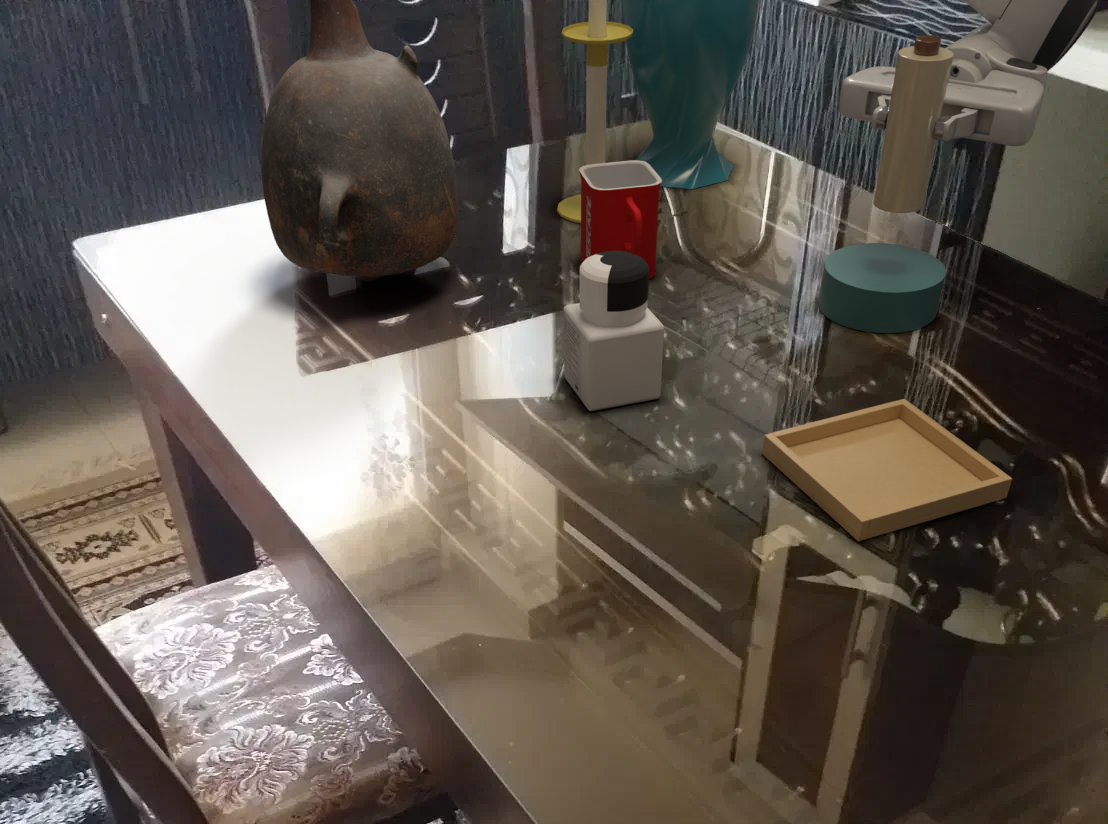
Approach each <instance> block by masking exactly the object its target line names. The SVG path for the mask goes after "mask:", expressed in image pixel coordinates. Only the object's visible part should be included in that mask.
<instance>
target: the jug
mask: <svg viewBox="0 0 1108 824" xmlns="http://www.w3.org/2000/svg"><path fill="white" fill-rule="evenodd" d="M309 5H310V7H309V8H310V35H309V46H308V50H307V53H306V55H305V56H302V57H301V58H299V59H298V60H296V61H295V62H294V63H292V64H291V65H290V66H289V68H287V70H286V71H285V73H283V75H282V76H281V78H280V79H279V81H278V82H277V84H276V86H275V87H274V90H273V91H272V94H271V97H270V100H269V103H268V107H267V112H266V116H265V120H264V127H263V134H262V143H261V162H260V163H261V164H260V165H261V167H260V169H261V170H260V171H261V183H262V191H263V192H262V193H263V199H264V205H265V208H266V213H267V216H268V221H269V225H270V229H271V232H272V233H271V234H272V235H273V236H272V237H273V239H274V241H275V244H276V246H277V247H278V249H279V251H280V252H281V253H282V255H283V256H284V257H285V258H286V259H287V261H289V262H290V263H291V264H293V265H296V266H297V267H299V268H302V269H304V270H305V269H306V270H309V271H312V272H315V273H321V274H327V275H335V276H347V277H355V278H357V279H359V280H362V281H364V282H368V283H370V282H371V283H372V282H376V281H377V280H379V279H381V278H382V277H384V276H391V275H398V274H403V273H406V272H410V271H413V270H416V269H419V268H421V267H425V266H427V265H429V264H430V263H433V262H434V261H436V260H437V259H439V258H440V257H442V256H443V255H444V254H445V253H446V252H447V251H448V249H449V247H450V246H451V244H452V242H453V240H454V237H455V235H456V230H457V226H458V214H459V213H458V212H459V202H458V199H459V198H458V185H457V178H456V169H455V161H454V156H453V151H452V147H451V144H450V143H451V142H450V140H449V136H448V132H447V129H446V126H445V122H444V120H443V117H442V114H441V112H440V110H439V107H438V105H437V103H436V101H435V99H434V98H433V96H432V94H431V92H430V90H429V89H428V87H427V86H426V84H425V83H424V81H422V79H421V77H420V76H419V75H418V58H417V55H416V54H415V52H414V51H413V49H412V48H411V47H410V46H409V45H404V47H403V48H402V51H401V53H400V54H399V55H398V57H396V56H394V55H392V54H390V53H388V52H386V51H381V50H377V49H375V48H373V47H372V46H371V45H370V42H369V41H368V39H367V37H366V34H365V32H364V28H363V25H362V22H361V19H360V15H359V9H358V7H357V5H356V4H354V2H353V0H309Z"/></svg>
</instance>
